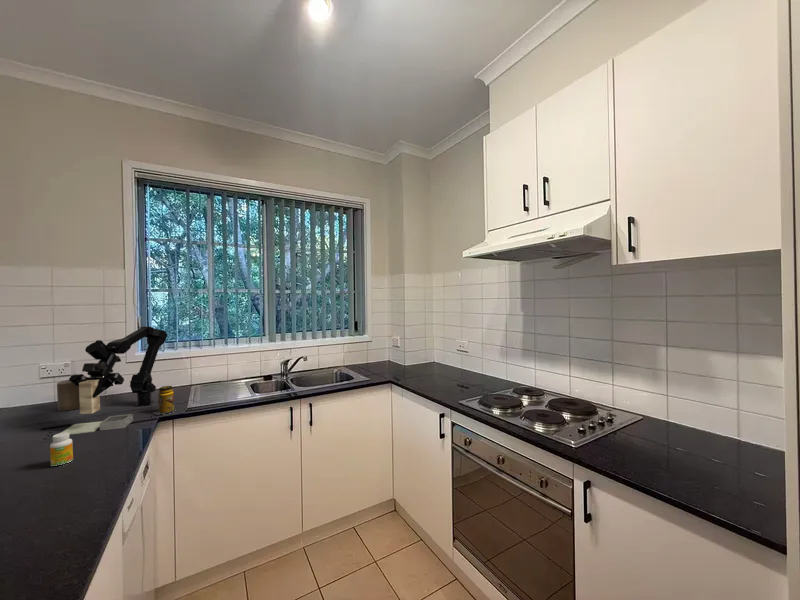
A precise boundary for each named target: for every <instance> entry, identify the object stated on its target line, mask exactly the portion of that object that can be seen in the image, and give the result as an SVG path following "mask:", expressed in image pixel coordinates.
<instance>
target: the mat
mask: <svg viewBox="0 0 800 600" xmlns="http://www.w3.org/2000/svg"><path fill="white" fill-rule="evenodd" d="M102 421H103V420H102ZM102 421H101V420H100V421H91V422H85V423H84V422H83V423H74V424H73V425H71V426H70V427H68V428H66V429H64V430H63V431H61V432H60V433H64V432H68V433H69V436H70V435H79V434H86V433H94V432H95V431H97V430H98V429H100V423H101V422H102Z"/></svg>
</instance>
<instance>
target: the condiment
mask: <svg viewBox="0 0 800 600" xmlns="http://www.w3.org/2000/svg"><path fill="white" fill-rule="evenodd" d="M173 388H174V387H173V385H164V386H161V387H159V388H158V390H159V391H158V411H159V412H160V413H165V412H170V411H173V410H174V409H175V397H174V396H175V392H174V391H173V390H174V389H173Z"/></svg>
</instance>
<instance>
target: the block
mask: <svg viewBox="0 0 800 600" xmlns="http://www.w3.org/2000/svg"><path fill="white" fill-rule="evenodd" d="M98 384H99V380H86V381H83V382H80V383H79V399H80V408H79V415H86V414H87V415H89V414H94V413H96V412H99V411H101V399H100V397H101V396H100V394H101V393H100V394H99V395H98V396H96V397H95V398H93V397H92V396H93V394H94V392H95V390H96V388H97V386H98Z"/></svg>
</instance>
